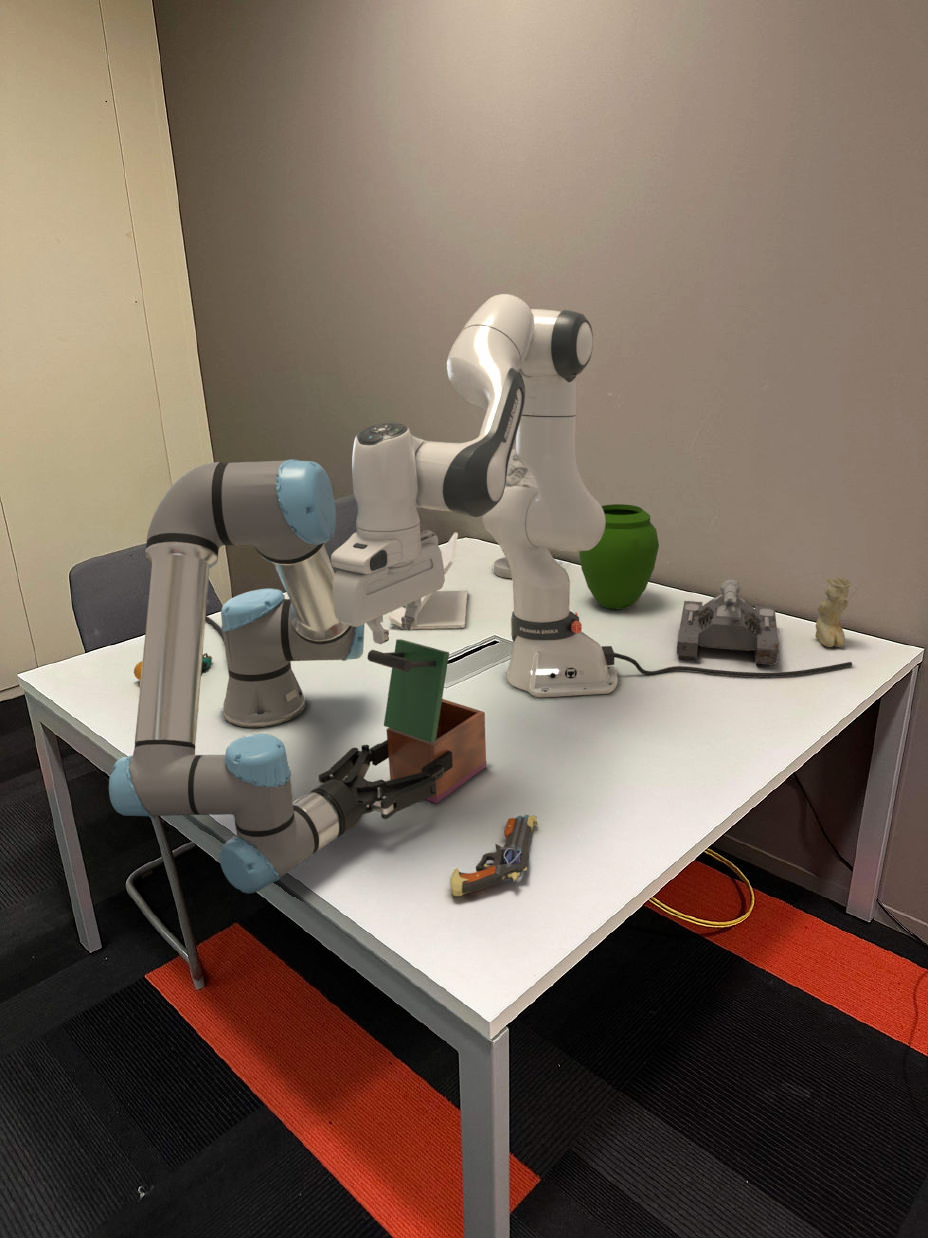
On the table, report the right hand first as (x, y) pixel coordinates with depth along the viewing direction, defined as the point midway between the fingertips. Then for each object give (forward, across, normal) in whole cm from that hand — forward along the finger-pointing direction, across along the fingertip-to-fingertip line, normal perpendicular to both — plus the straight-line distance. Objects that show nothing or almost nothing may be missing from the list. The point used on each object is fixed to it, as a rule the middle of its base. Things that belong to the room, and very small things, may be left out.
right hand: (395, 635), depth 124 cm
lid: (+10, -4, 0) cm, 11 cm away
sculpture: (+29, -100, +36) cm, 110 cm away
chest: (+28, -8, 0) cm, 29 cm away
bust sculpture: (+29, -105, -47) cm, 119 cm away
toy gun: (+28, +5, +21) cm, 35 cm away
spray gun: (+28, -8, -71) cm, 76 cm away
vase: (+29, -97, -14) cm, 102 cm away
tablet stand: (+28, -68, -51) cm, 90 cm away
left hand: (+21, -5, 0) cm, 22 cm away
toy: (+29, -87, +18) cm, 93 cm away
